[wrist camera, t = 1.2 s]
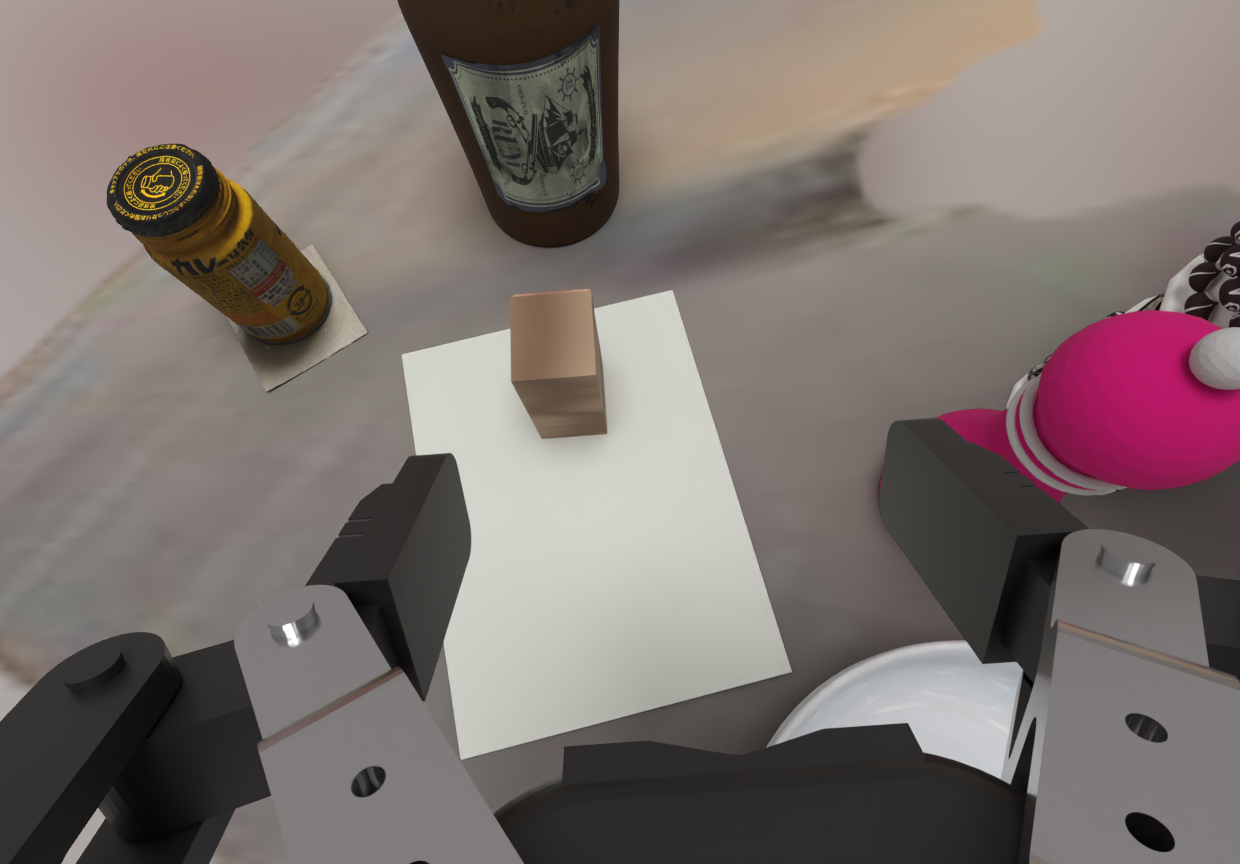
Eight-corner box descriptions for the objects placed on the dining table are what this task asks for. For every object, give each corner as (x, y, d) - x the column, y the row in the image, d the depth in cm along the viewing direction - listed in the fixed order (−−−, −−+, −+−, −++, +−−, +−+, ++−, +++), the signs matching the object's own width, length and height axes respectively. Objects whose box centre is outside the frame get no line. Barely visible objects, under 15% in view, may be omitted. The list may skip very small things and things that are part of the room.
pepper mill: (860, 440, 37) (1089, 237, 18) (982, 436, 37) (1346, 225, 18) (879, 563, 35) (1164, 479, 16) (1009, 559, 34) (1459, 469, 15)
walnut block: (602, 361, 39) (590, 285, 30) (607, 434, 37) (596, 375, 29) (539, 367, 39) (510, 291, 30) (541, 439, 37) (510, 381, 29)
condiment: (313, 245, 43) (193, 105, 31) (368, 333, 41) (260, 216, 29) (218, 300, 42) (58, 175, 30) (269, 393, 39) (116, 297, 28)
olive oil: (470, 147, 45) (273, -397, 21) (611, 120, 45) (574, -448, 21) (489, 270, 42) (281, -212, 18) (642, 239, 42) (637, -275, 18)
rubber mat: (672, 293, 40) (672, 290, 40) (790, 671, 33) (791, 672, 33) (404, 357, 40) (401, 354, 39) (462, 758, 32) (460, 759, 32)
